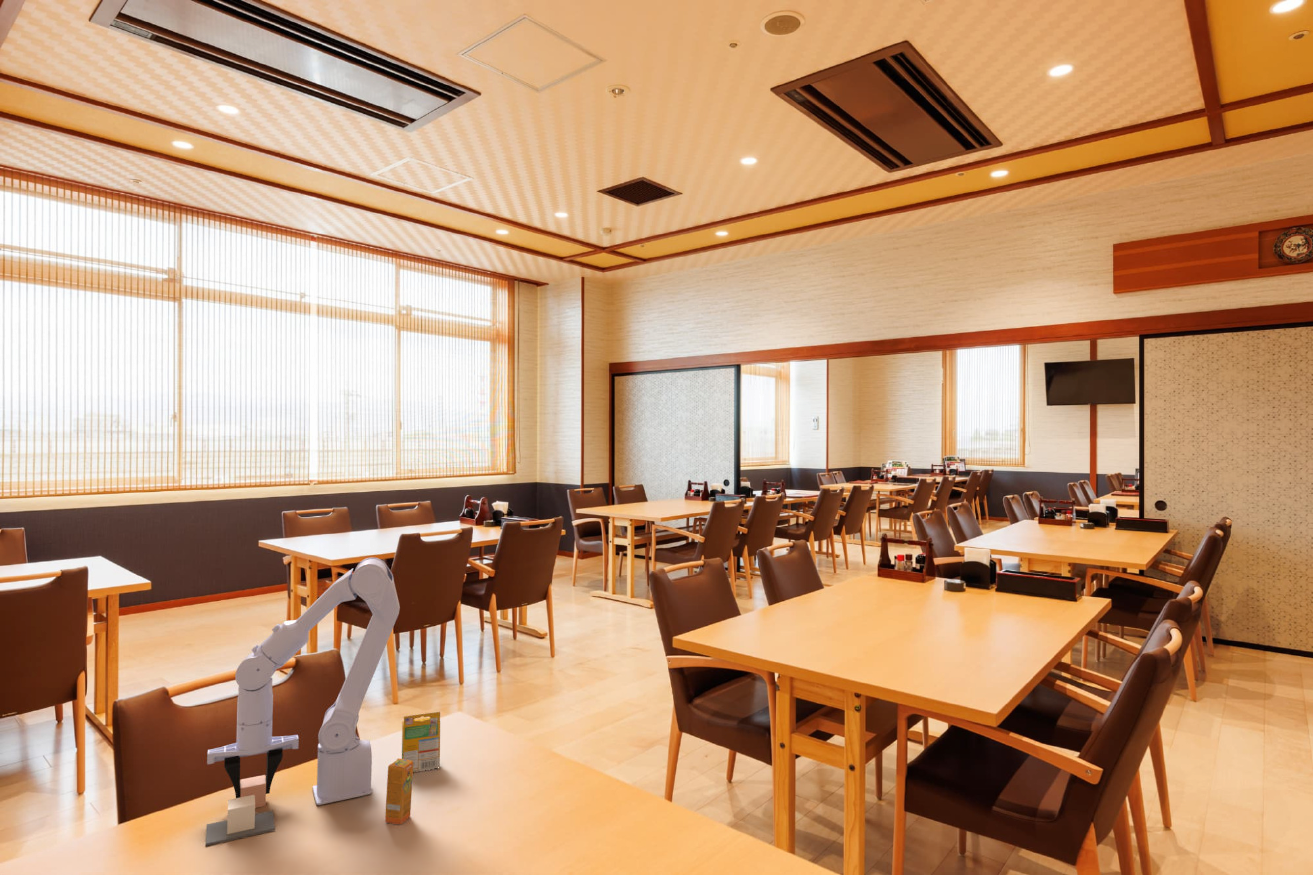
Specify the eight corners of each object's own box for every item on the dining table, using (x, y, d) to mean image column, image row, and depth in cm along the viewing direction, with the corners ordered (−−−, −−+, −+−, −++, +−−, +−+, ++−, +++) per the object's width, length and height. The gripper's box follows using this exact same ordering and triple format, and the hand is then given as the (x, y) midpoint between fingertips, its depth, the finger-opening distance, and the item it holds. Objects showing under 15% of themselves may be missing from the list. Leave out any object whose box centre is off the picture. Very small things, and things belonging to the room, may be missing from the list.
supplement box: (402, 825, 124) (403, 767, 124) (384, 823, 125) (385, 765, 125) (412, 816, 127) (413, 759, 128) (395, 814, 128) (396, 757, 128)
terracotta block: (264, 796, 134) (265, 774, 134) (265, 805, 131) (266, 783, 131) (239, 801, 132) (240, 779, 132) (240, 810, 128) (240, 788, 129)
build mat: (272, 812, 128) (272, 810, 128) (274, 830, 122) (274, 828, 122) (206, 826, 123) (206, 824, 123) (205, 846, 117) (205, 843, 117)
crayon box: (438, 763, 149) (439, 707, 150) (439, 768, 147) (441, 711, 147) (401, 768, 146) (402, 711, 147) (402, 775, 144) (403, 716, 144)
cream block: (254, 828, 122) (255, 804, 122) (227, 834, 120) (227, 809, 120) (254, 817, 125) (254, 794, 125) (227, 823, 123) (228, 799, 123)
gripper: (297, 706, 139) (295, 777, 138) (208, 719, 131) (206, 794, 131) (300, 718, 133) (298, 792, 132) (207, 732, 125) (205, 811, 125)
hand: (252, 794), depth 131 cm, fingers closed on terracotta block, 4 cm apart
